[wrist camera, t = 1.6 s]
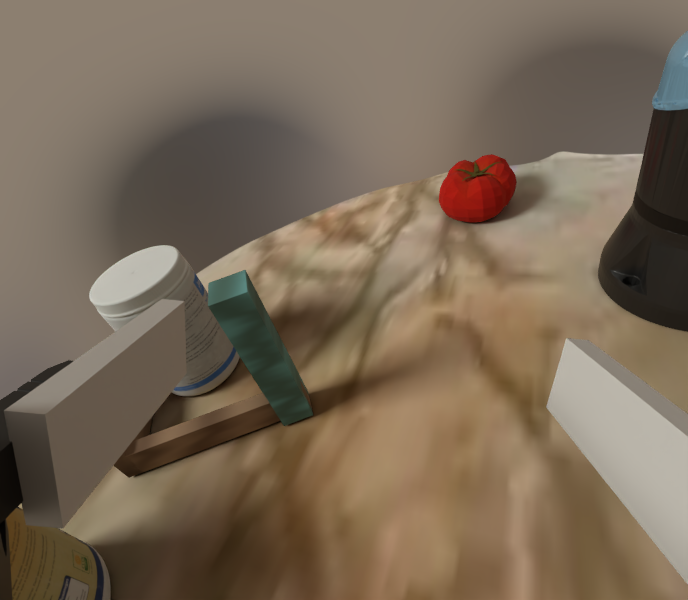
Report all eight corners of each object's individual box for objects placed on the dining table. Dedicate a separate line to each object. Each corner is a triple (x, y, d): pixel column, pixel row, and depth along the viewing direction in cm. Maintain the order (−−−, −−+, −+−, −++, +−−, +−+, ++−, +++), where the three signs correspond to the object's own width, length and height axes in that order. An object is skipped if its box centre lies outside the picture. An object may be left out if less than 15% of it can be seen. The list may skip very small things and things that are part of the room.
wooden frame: (127, 484, 39) (-5, 383, 29) (152, 348, 54) (70, 250, 44) (313, 415, 40) (247, 291, 29) (287, 299, 54) (237, 190, 44)
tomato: (434, 228, 59) (429, 187, 55) (454, 190, 65) (451, 150, 61) (506, 231, 54) (506, 186, 50) (520, 189, 61) (521, 146, 57)
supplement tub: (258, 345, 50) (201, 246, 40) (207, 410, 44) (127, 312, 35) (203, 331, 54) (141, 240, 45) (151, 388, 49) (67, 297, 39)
